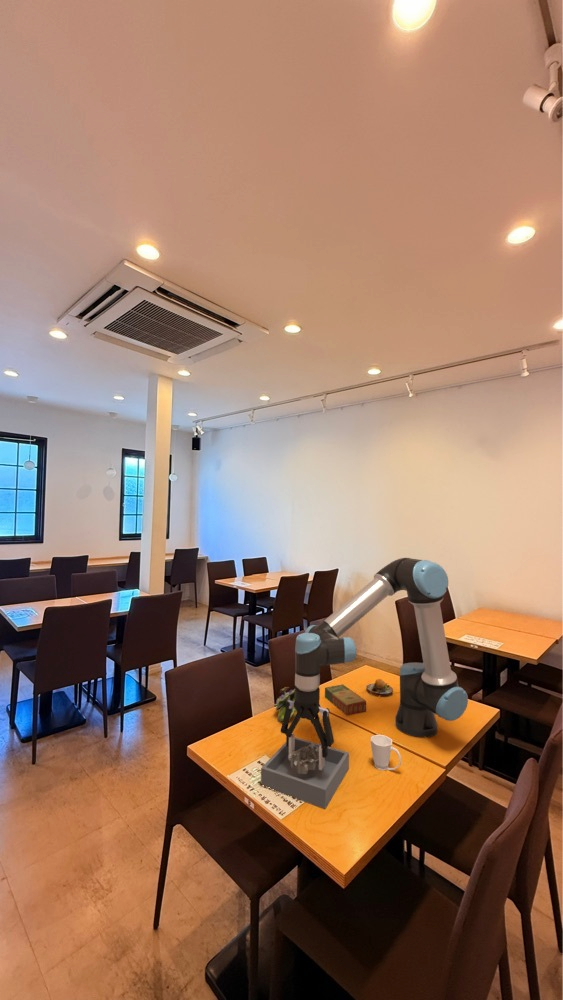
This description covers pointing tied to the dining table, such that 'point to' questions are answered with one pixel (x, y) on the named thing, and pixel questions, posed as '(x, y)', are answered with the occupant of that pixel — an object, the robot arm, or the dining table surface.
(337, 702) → the carton
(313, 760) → the egg carton
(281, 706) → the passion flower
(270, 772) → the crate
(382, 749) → the cup
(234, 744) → the dining table surface
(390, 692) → the brown food dish
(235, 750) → the dining table surface
